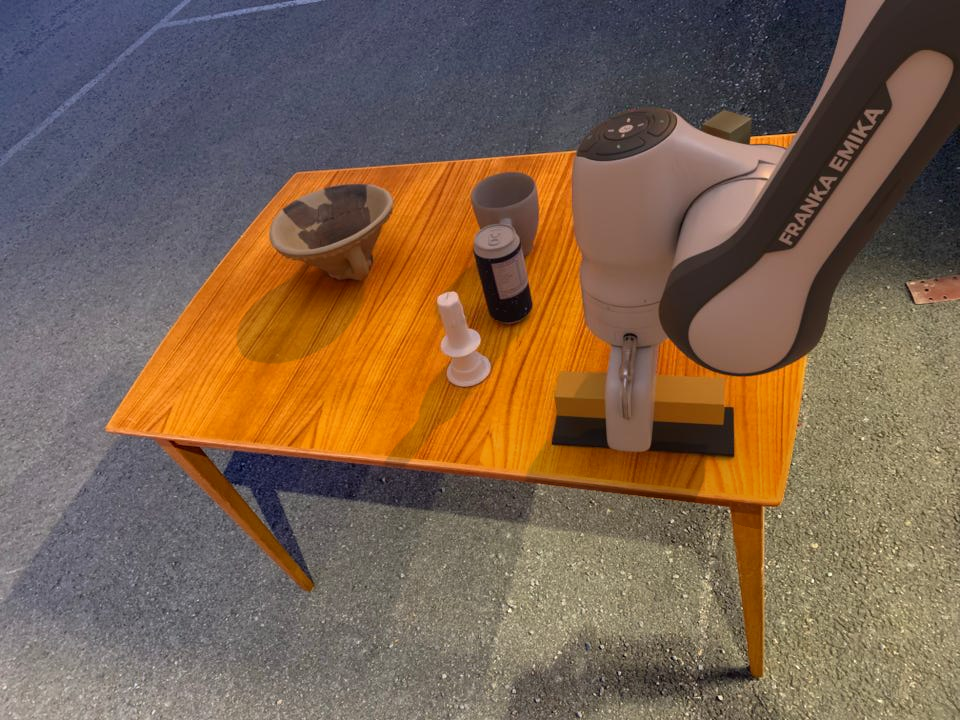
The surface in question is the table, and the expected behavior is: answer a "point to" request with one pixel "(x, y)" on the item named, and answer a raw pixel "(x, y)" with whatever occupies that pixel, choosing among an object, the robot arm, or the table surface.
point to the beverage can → (503, 273)
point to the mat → (653, 435)
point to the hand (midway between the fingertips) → (639, 402)
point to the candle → (461, 344)
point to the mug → (508, 205)
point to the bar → (672, 397)
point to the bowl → (333, 228)
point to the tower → (729, 127)
